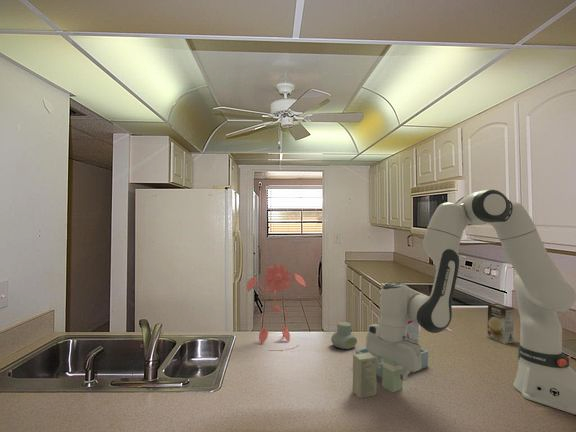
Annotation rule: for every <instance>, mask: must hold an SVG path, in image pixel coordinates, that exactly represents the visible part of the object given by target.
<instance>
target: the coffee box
mask: <svg viewBox="0 0 576 432" xmlns="http://www.w3.org/2000/svg"><path fill="white" fill-rule="evenodd" d="M514 324H515V308H514V307H511V306H507V305H504V304H501V303H497V302H496V303H488V304H487V324H486V325H487V327H486V328H487V329H486V337H487V339H490V340H493V341H494V342H498V343H501V344H503V345H505V344H512V343H514V329H515V328H514Z"/></svg>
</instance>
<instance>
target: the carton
mask: <svg viewBox="0 0 576 432" xmlns="http://www.w3.org/2000/svg"><path fill="white" fill-rule="evenodd" d="M402 373H403V367H401V366H399V365H397V364H395V361H394V360H391V359H389V358H387V357H385V356H383V376H382V380H381V381H382V383H381V385H382V386H381V387H383V388H384V389H387V390H388V391H390V392H392V393H396V392H397V391H400V390H402V389H403V382H404V381H403V380H401V379H400V374H402Z"/></svg>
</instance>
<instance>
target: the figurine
mask: <svg viewBox="0 0 576 432" xmlns="http://www.w3.org/2000/svg"><path fill="white" fill-rule="evenodd" d="M266 272H267V273H265V274H264V275H263V279H264V281H263V286H264V287H269V288H267V289H264V288H263V286H262V285H261V284H260V283H259V282H258V280H257V278H256V276H253V277H251V278H250V279H249V280H248V281H247V284H246V289H247V292H250V291H251V290H252V289H254V288H255V286H256V283H257V285H258V286H259V287H260V288H261V290H262V291H263V292H267V291H270V292H271V293H273V299H274V304H275V306H273V308H272V309H271V310H270V311H268V312H264V313H263V314H262V317H263V319H262V320H263V322H265V315H266V314H269V313H271V312H273V311H274V312H275V313H277V312H282V313H284V314H285V316H287V312H286V311H283V310H281V309H280V307H279V306H278V304H277V301H276V292H279V293H281V292H282V290H289V288H290V287H291V284H292V283H293V281H294V279H295V281H296V282H297V283H298V284H299V285H301V286H303V287H304V288H306V287H307V286H306V281H305V280H304V278H303V277H302V276H301V275H300V274H298V273H296V272H294V273H293V276H291V275H290V272H291V270H290V269H286V266H285V264H284V263H281V264H280V265H277V264H273V266H267V267H266ZM288 282H289V283H288ZM284 318H285V319H284V320H285V321H284V326H283V327H282V329H281V331H282V333H281V334H282V337H281V338H282V339H285V340H286V341H287V342H290V341H291V340H290V339H291V333H290V331H289V329H288V328H287V327H286V326H287V317H284ZM265 324H266V323H263V328H261V330H259V333H258V340H259V342H260V344H264V343H265V341H266V340H267V339H268V336H269V330H268V328H266V327H265ZM297 347H298V345H296V346H295V347H292V348H287V349H286V351H288V350H291V349H295V348H297ZM270 351H271V352H273V351H274V352H276V351H279V352H283V349H281V350H280V349H277V350H276V349H275V350H272V349H270Z"/></svg>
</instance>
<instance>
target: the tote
mask: <svg viewBox="0 0 576 432" xmlns="http://www.w3.org/2000/svg"><path fill="white" fill-rule="evenodd" d="M354 352H355V353H354V354H359V353H366V352H369V351H368V350H367V348H366V347H364V348H360V349H357V350H356V349H355V351H354ZM370 353H371V352H370ZM371 354H373V353H371ZM373 355H374V356H375V354H373ZM381 359H382V363H383V358H382V357H381ZM421 360H422V367H421V369H420V370H423V369H425V368H428V367H429V351H428V350H426V349H423V348H421ZM403 373H404V370H403ZM412 373H413V372H412V371H410V372H409V374H412ZM382 376H383V369H382V370H381V369H379V368H377V361H376V379H378V380H381V381H382Z"/></svg>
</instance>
